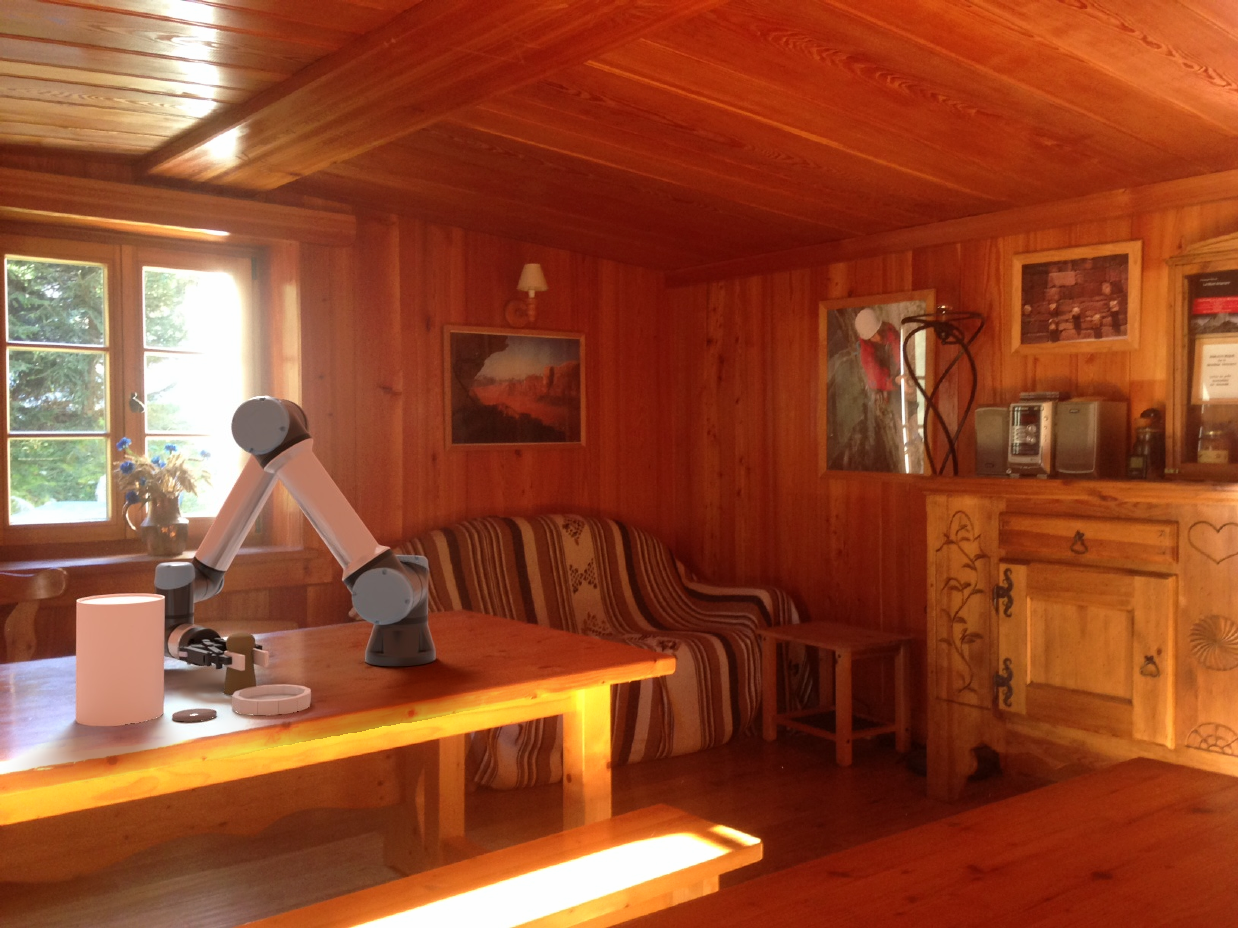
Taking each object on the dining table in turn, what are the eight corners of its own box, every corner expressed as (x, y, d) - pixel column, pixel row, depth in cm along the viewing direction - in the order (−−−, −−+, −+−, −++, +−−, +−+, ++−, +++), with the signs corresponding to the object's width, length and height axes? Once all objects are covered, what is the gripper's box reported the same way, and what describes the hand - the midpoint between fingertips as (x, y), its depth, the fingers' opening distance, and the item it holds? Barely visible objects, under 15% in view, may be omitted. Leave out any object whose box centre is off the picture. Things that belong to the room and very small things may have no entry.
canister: (72, 729, 168) (73, 605, 168) (78, 710, 181) (79, 595, 181) (163, 721, 174) (164, 602, 174) (163, 703, 186) (164, 592, 186)
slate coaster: (219, 711, 181) (219, 707, 181) (213, 721, 175) (213, 717, 175) (176, 712, 180) (176, 709, 180) (168, 722, 173) (168, 719, 173)
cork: (245, 696, 193) (246, 636, 193) (216, 694, 194) (217, 635, 194) (263, 689, 199) (264, 631, 199) (234, 687, 200) (235, 630, 200)
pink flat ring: (312, 696, 193) (312, 683, 193) (307, 713, 180) (307, 699, 180) (238, 699, 190) (238, 685, 190) (227, 716, 177) (228, 702, 177)
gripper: (236, 657, 215) (296, 674, 199) (152, 669, 202) (210, 688, 186) (236, 621, 215) (296, 635, 199) (153, 631, 202) (210, 646, 186)
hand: (254, 661), depth 193 cm, fingers closed on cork, 4 cm apart
